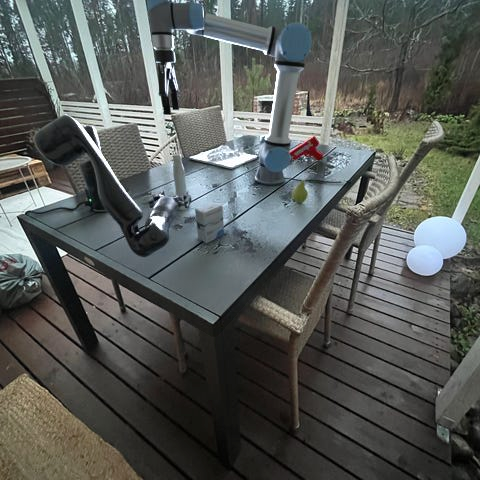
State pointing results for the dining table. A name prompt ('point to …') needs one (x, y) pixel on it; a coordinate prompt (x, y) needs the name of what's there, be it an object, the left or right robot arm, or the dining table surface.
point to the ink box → (209, 221)
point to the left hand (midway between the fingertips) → (174, 192)
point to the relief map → (224, 157)
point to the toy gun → (307, 149)
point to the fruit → (300, 192)
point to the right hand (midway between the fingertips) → (172, 112)
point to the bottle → (179, 177)
